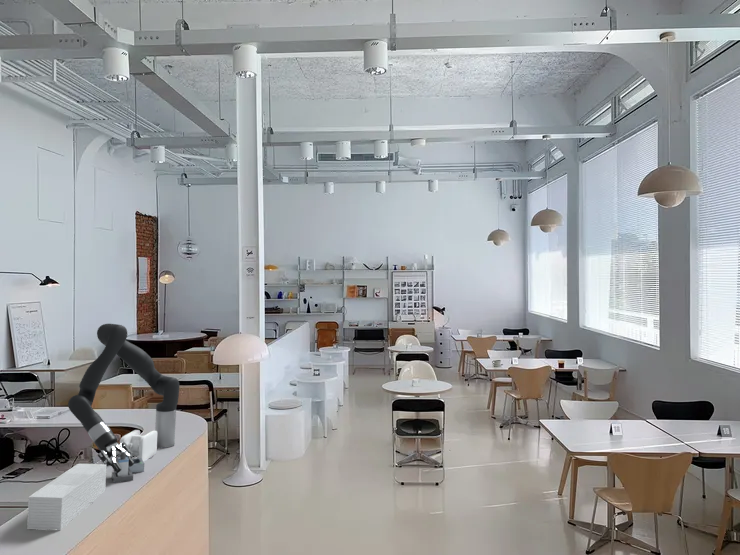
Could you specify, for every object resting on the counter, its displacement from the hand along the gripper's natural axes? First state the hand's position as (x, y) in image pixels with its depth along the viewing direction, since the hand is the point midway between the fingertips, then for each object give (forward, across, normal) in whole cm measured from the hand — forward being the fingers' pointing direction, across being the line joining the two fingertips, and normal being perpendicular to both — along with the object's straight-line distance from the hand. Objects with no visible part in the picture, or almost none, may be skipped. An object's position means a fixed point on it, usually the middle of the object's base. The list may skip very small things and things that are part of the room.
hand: (126, 468), depth 222 cm
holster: (+2, 0, +5) cm, 5 cm away
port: (0, +10, +7) cm, 12 cm away
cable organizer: (-5, +24, +12) cm, 27 cm away
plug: (+2, 0, +4) cm, 5 cm away
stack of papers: (+4, -29, +4) cm, 30 cm away
